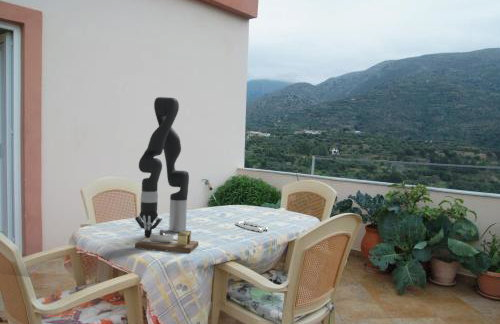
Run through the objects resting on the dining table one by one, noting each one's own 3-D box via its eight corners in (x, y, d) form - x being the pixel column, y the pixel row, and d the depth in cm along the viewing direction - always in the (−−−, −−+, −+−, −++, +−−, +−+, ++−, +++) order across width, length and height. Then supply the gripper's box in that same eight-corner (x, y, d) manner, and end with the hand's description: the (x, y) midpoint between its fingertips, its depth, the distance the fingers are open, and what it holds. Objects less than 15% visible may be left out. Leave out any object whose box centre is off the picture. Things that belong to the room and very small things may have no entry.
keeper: (182, 241, 164) (182, 230, 164) (190, 242, 164) (191, 231, 164) (177, 245, 157) (177, 233, 157) (185, 246, 157) (186, 234, 157)
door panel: (146, 241, 170) (146, 236, 170) (198, 245, 166) (198, 241, 166) (134, 247, 158) (135, 243, 158) (190, 252, 154) (190, 247, 154)
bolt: (153, 239, 164) (153, 228, 164) (173, 240, 163) (173, 230, 163) (150, 240, 161) (150, 230, 161) (170, 242, 160) (171, 231, 160)
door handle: (243, 223, 222) (271, 231, 203) (231, 225, 215) (258, 233, 196) (243, 219, 222) (271, 227, 203) (231, 221, 215) (258, 229, 196)
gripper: (165, 200, 165) (164, 236, 166) (139, 198, 167) (138, 234, 168) (159, 202, 158) (157, 240, 158) (132, 200, 160) (130, 238, 161)
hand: (147, 237), depth 163 cm, fingers closed
